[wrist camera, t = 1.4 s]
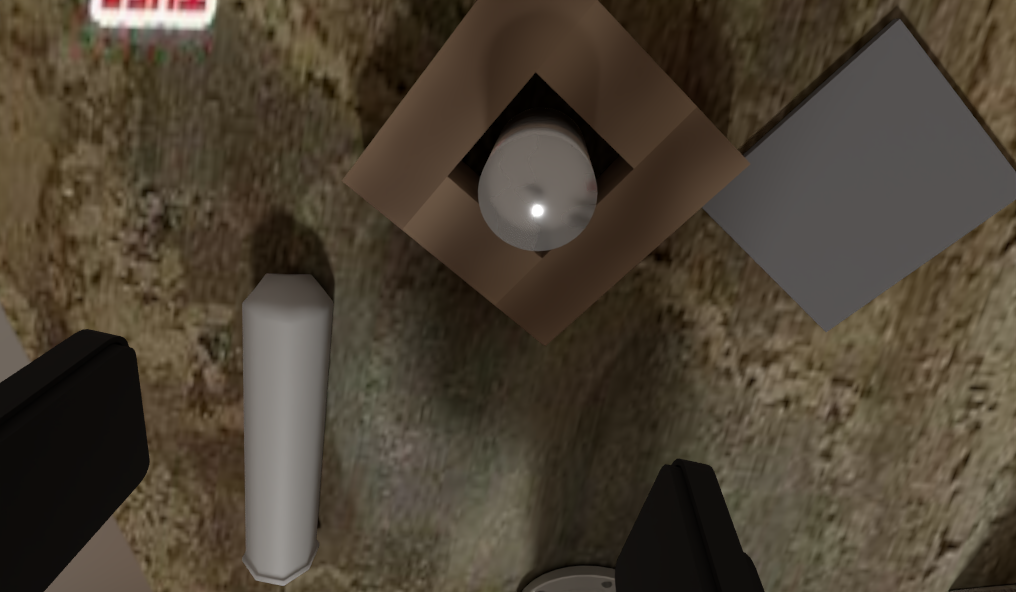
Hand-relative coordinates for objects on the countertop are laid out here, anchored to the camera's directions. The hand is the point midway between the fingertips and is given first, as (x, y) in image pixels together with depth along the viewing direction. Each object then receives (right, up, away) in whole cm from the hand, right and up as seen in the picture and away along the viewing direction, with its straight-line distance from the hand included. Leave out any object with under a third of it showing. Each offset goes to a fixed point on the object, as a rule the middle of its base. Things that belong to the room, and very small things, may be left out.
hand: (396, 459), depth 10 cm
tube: (-13, -6, +30) cm, 34 cm away
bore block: (+4, +11, +20) cm, 23 cm away
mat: (+21, +9, +20) cm, 30 cm away
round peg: (+4, +11, +20) cm, 23 cm away
